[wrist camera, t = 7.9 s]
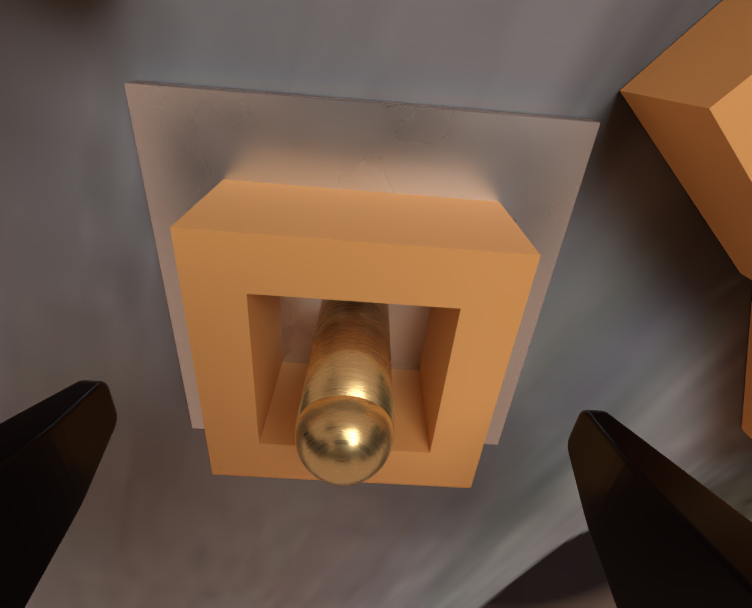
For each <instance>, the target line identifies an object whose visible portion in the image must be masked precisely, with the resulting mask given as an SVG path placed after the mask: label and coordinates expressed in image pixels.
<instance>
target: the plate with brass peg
mask: <svg viewBox="0 0 752 608" xmlns="http://www.w3.org/2000/svg"><path fill="white" fill-rule="evenodd" d="M124 85H125V91H126V96H127V101H128V106H129V111H130V116H131V121H132V126H133V131H134V136H135V141H136V146H137V151H138V156H139V161H140V166H141V171H142V176H143V181H144V186H145V191H146V196H147V202H148V207H149V212H150V217H151V222H152V227H153V232H154V237H155V242H156V247H157V252H158V257H159V262H160V267H161V272H162V277H163V282H164V287H165V292H166V297H167V302H168V308H169V313H170V318H171V323H172V328H173V333H174V338H175V343H176V348H177V353H178V358H179V363H180V368H181V373H182V378H183V383H184V388H185V393H186V398H187V403H188V408H189V414H190V419H191V424H192V428H198V429H204V423H203V417H202V411H201V405H200V399H199V394H198V388H197V382H196V376H195V370H194V365H193V359H192V353H191V347H190V341H189V336H188V330H187V324H186V318H185V312H184V306H183V301H182V295H181V289H180V283H179V277H178V272H177V266H176V260H175V254H174V248H173V243H172V237H171V231H170V227H171V226H172V225H173V224H174V223H175V222H176V221H178V220H179V219H180V218H181V217H182V216H183V215H184V214H185V213H187V212H188V211H189V210H190V209H191V208H192V207H193V206H194V205H195V204H197V203H198V202H199V201H200V200H201V199H202V198H203V197H204V196H206V195H207V194H208V193H209V192H210V191H211V190H212V189H213V188H214V187H216V186H217V185H218V184H219V183H220V182H221V181H222V180H234V181H247V182H259V183H272V184H284V185H297V186H309V187H322V188H334V189H347V190H359V191H372V192H384V193H397V194H409V195H422V196H434V197H447V198H459V199H472V200H484V201H497V202H500V203H501V205H502V206H503V207H504V208H505V210H506V211H507V212H508V214H509V215H510V216H511V217H512V219H513V220H514V221H515V223H516V224H517V225H518V227H519V228H520V229H521V230H522V232H523V233H524V234H525V236H526V237H527V238H528V239H529V241H530V242H531V243H532V245H533V246H534V247H535V249H536V250H537V251H538V252H539V254H540V255H541V256H540V259H539V263H538V266H537V269H536V273H535V276H534V279H533V283H532V286H531V289H530V293H529V296H528V299H527V303H526V306H525V309H524V313H523V316H522V319H521V323H520V326H519V329H518V332H517V336H516V339H515V342H514V346H513V349H512V352H511V356H510V359H509V362H508V366H507V369H506V372H505V376H504V379H503V382H502V386H501V389H500V392H499V396H498V399H497V402H496V406H495V409H494V412H493V415H492V419H491V422H490V425H489V429H488V432H487V435H486V439H485V442H484V444H494V445H498V442H499V439H500V436H501V433H502V430H503V427H504V423H505V420H506V417H507V414H508V411H509V408H510V405H511V402H512V398H513V395H514V392H515V389H516V386H517V383H518V380H519V376H520V373H521V370H522V367H523V364H524V361H525V358H526V354H527V351H528V348H529V345H530V342H531V339H532V336H533V333H534V329H535V326H536V323H537V320H538V317H539V314H540V311H541V307H542V304H543V301H544V298H545V295H546V292H547V289H548V286H549V282H550V279H551V276H552V273H553V270H554V267H555V264H556V260H557V257H558V254H559V251H560V248H561V245H562V242H563V238H564V235H565V232H566V229H567V226H568V223H569V220H570V217H571V213H572V210H573V207H574V204H575V201H576V198H577V195H578V191H579V188H580V185H581V182H582V179H583V176H584V173H585V170H586V166H587V163H588V160H589V157H590V154H591V151H592V148H593V144H594V141H595V138H596V135H597V132H598V129H599V126H600V122H597V121H594V120H591V119H588V118H576V117H564V116H552V115H541V114H529V113H517V112H505V111H493V110H481V109H469V108H457V107H445V106H433V105H421V104H409V103H398V102H386V101H374V100H362V99H350V98H338V97H326V96H314V95H302V94H290V93H278V92H266V91H255V90H243V89H231V88H219V87H207V86H195V85H183V84H171V83H159V82H147V81H133V82H126V83H124ZM280 300H281V327H282V354H283V362H292V363H308V368H307V373H306V377H305V382H304V387H303V391H302V396H301V401H300V406H299V410H298V415H297V420H296V425H295V434H294V435H295V445H296V449H297V453H298V455H299V457H300V459H301V461H302V463H303V464H304V466H305V467H306V469H307V470H308V471H309V472H310V473H311V474H313V475H314V476H315V477H316V478H318V479H320V480H322V481H324V482H326V483H329V484H332V485H338V486H349V485H355V484H358V483H361V482H363V481H365V480H367V479H369V478H371V477H372V476H373V475H375V474H376V473H377V472H378V471H379V470H380V469H381V468H382V467H383V465H384V464H385V462H386V461H387V459H388V457H389V455H390V453H391V450H392V446H393V442H394V413H393V392H392V370H391V369H402V370H418V371H419V370H420V364H421V358H422V352H423V346H424V340H425V334H426V328H427V322H428V316H429V311H430V307H429V306H415V305H400V304H386V303H372V302H357V301H343V300H329V299H314V298H300V297H286V296H280Z"/></svg>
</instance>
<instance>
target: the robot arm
mask: <svg viewBox="0 0 752 608" xmlns="http://www.w3.org/2000/svg"><path fill="white" fill-rule="evenodd" d="M116 422H117V412H116V409H115V406H114V403H113V399H112V396H111V393H110V390H109V387H108V385H107V384H106V383H105V382H102V381H89V380H83V381H79V382H77V383H75V384H73V385H71V386H69V387H67V388H65V389H64V390H62V391H60V392H58V393H56V394H54V395H52V396H51V397H49V398H47V399H45V400H43V401H41V402H39V403H38V404H36V405H34V406H32V407H30V408H28V409H26V410H25V411H23V412H21V413H19V414H17V415H15V416H13V417H12V418H10V419H8V420H6V421H4V422H2V423H0V608H25V606H26V604H27V603H28V601H29V599H30V597H31V595H32V594H33V592H34V590H35V588H36V586H37V585H38V583H39V581H40V579H41V577H42V575H43V574H44V572H45V570H46V568H47V566H48V565H49V563H50V561H51V559H52V557H53V556H54V554H55V552H56V550H57V548H58V547H59V545H60V543H61V541H62V539H63V538H64V536H65V534H66V532H67V530H68V528H69V527H70V525H71V523H72V521H73V519H74V518H75V516H76V514H77V512H78V510H79V508H80V506H81V504H82V502H83V500H84V498H85V496H86V494H87V491H88V489H89V487H90V484H91V482H92V480H93V477H94V475H95V473H96V470H97V468H98V466H99V463H100V461H101V459H102V456H103V454H104V452H105V449H106V447H107V445H108V442H109V440H110V438H111V435H112V433H113V431H114V428H115V425H116ZM568 452H569V456H570V460H571V464H572V468H573V472H574V476H575V480H576V484H577V488H578V491H579V495H580V499H581V503H582V507H583V511H584V515H585V519H586V522H587V526H588V529H589V532H590V535H591V538H592V541H593V543H594V546H595V549H596V552H597V554H598V557H599V560H600V563H601V565H602V568H603V571H604V573H605V576H606V579H607V582H608V584H609V587H610V590H611V592H612V595H613V598H614V601H615V603H616V606H617V608H752V522H751V521H750V520H748V519H747V518H746V517H744V516H743V515H742V514H740V513H739V512H738V511H736V510H735V509H734V508H732V507H731V506H730V505H728V504H727V503H726V502H725V501H723V500H722V499H721V498H719V497H718V496H717V495H715V494H714V493H713V492H711V491H710V490H709V489H707V488H706V487H705V486H703V485H702V484H701V483H699V482H698V481H697V480H695V479H694V478H693V477H691V476H690V475H689V474H688V473H686V472H685V471H684V470H682V469H681V468H680V467H678V466H677V465H676V464H674V463H673V462H672V461H670V460H669V459H668V458H666V457H665V456H664V455H662V454H661V453H660V452H658V451H657V450H656V449H654V448H653V447H652V446H651V445H649V444H648V443H647V442H645V441H644V440H643V439H641V438H640V437H639V436H637V435H636V434H635V433H633V432H632V431H631V430H629V429H628V428H627V427H625V426H624V425H623V424H621V423H620V422H619V421H617V420H616V419H615V418H614V417H612V416H611V415H610V414H608V413H607V412H604V411H598V410H583V411H582V412H581V413H580V414H579V416H578V418H577V421H576V423H575V425H574V427H573V430H572V432H571V434H570V437H569V440H568Z"/></svg>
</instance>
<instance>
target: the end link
mask: <svg viewBox="0 0 752 608" xmlns="http://www.w3.org/2000/svg"><path fill="white" fill-rule="evenodd" d="M170 231H171V237H172V243H173V248H174V254H175V260H176V266H177V272H178V277H179V283H180V289H181V295H182V301H183V306H184V312H185V318H186V324H187V330H188V336H189V341H190V347H191V353H192V359H193V365H194V370H195V376H196V382H197V388H198V394H199V399H200V405H201V411H202V417H203V423H204V429H205V434H206V440H207V446H208V452H209V458H210V463H211V469H212V474H214V475H233V476H252V477H271V478H290V479H309V480H320V479H318V478H316V477H315V476H314V475H313V474H311V473H310V472H309V471H308V470H307V469H306V467H305V466H304V464H303V463H302V461H301V459H300V457H299V455H298V453H297V449H296V445H295V435H294V434H295V425H296V420H297V415H298V410H299V406H300V401H301V396H302V391H303V387H304V382H305V377H306V373H307V368H308V363H292V362H283V354H282V327H281V300H280V296H286V297H300V298H314V299H329V300H343V301H357V302H372V303H386V304H400V305H415V306H429V307H430V311H429V316H428V322H427V328H426V334H425V340H424V346H423V352H422V358H421V364H420V370H419V371H418V370H402V369H391V370H392V392H393V413H394V442H393V446H392V450H391V453H390V455H389V457H388V459H387V461H386V462H385V464H384V465H383V467H382V468H381V469H380V470H379V471H378V472H377V473H376V474H375V475H373V476H372V477H371V478H369V479H367V480H365V481H363V482H366V483H385V484H404V485H423V486H442V487H461V488H471V485H472V482H473V479H474V475H475V472H476V469H477V465H478V462H479V459H480V455H481V452H482V449H483V445H484V442H485V439H486V435H487V432H488V429H489V425H490V422H491V419H492V415H493V412H494V409H495V406H496V402H497V399H498V396H499V392H500V389H501V386H502V382H503V379H504V376H505V372H506V369H507V366H508V362H509V359H510V356H511V352H512V349H513V346H514V342H515V339H516V336H517V332H518V329H519V326H520V323H521V319H522V316H523V313H524V309H525V306H526V303H527V299H528V296H529V293H530V289H531V286H532V283H533V279H534V276H535V273H536V269H537V266H538V263H539V259H540V256H541V255H540V254H539V252H538V251H537V250H536V249H535V247H534V246H533V245H532V243H531V242H530V241H529V239H528V238H527V237H526V236H525V234H524V233H523V232H522V230H521V229H520V228H519V227H518V225H517V224H516V223H515V221H514V220H513V219H512V217H511V216H510V215H509V214H508V212H507V211H506V210H505V208H504V207H503V206H502V205H501V203H500V202H497V201H484V200H472V199H459V198H447V197H434V196H422V195H409V194H397V193H384V192H372V191H359V190H347V189H334V188H322V187H309V186H297V185H284V184H272V183H259V182H247V181H234V180H222V181H221V182H220V183H219V184H218V185H217V186H216V187H214V188H213V189H212V190H211V191H210V192H209V193H208V194H207V195H206V196H204V197H203V198H202V199H201V200H200V201H199V202H198V203H197V204H195V205H194V206H193V207H192V208H191V209H190V210H189V211H188V212H187V213H185V214H184V215H183V216H182V217H181V218H180V219H179V220H178V221H176V222H175V223H174V224H173V225H172V226H171V227H170Z"/></svg>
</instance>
